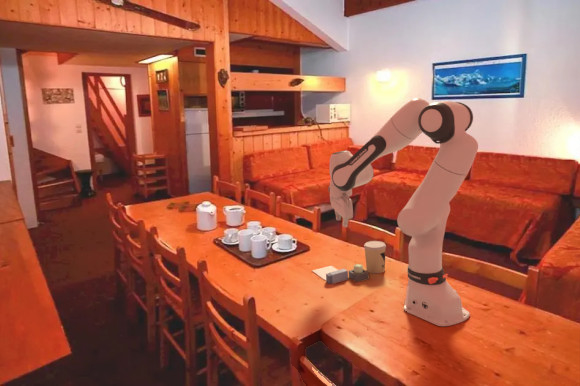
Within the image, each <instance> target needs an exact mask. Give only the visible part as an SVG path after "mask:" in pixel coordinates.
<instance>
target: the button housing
mask: <svg viewBox="0 0 580 386" xmlns="http://www.w3.org/2000/svg"><path fill="white" fill-rule="evenodd" d="M369 273H370V272H368V271H367V270H365V269H364V268H363V273H361V274H355V273H354V268H353V269H350V270H348V279H351V280H352V281H354V282H355V283H359V282H362V281H366V280H367V281H368V280H369V278H370V274H369Z"/></svg>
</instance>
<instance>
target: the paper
mask: <svg viewBox="0 0 580 386" xmlns="http://www.w3.org/2000/svg"><path fill="white" fill-rule="evenodd" d="M337 270H338V268H336V267H335V266H333V265H329V266H325V267H324V266H323V267H321V268H317V269H313V270H311V271H312V273H314V274H315V275H317V276H318V277H319V278H321V279H323V280H324V281H326V274H328V273H330V272H333V271H337Z"/></svg>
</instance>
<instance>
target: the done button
mask: <svg viewBox="0 0 580 386" xmlns="http://www.w3.org/2000/svg"><path fill="white" fill-rule="evenodd" d="M353 269H354V273H355V274H361V273H363V269H364V266H363V265H362V264H361V263H360V264H359V263H357V264H354V265H353Z"/></svg>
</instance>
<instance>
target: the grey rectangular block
mask: <svg viewBox="0 0 580 386" xmlns="http://www.w3.org/2000/svg"><path fill="white" fill-rule="evenodd" d="M347 280H349V270H347V269H346V268H342V269H337V271H333V272H330V273H328V274H326V280H325V281H326V283H327V284H329V285H332V284H336V283H340V282H343V281H344V282H345V281H347Z"/></svg>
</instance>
